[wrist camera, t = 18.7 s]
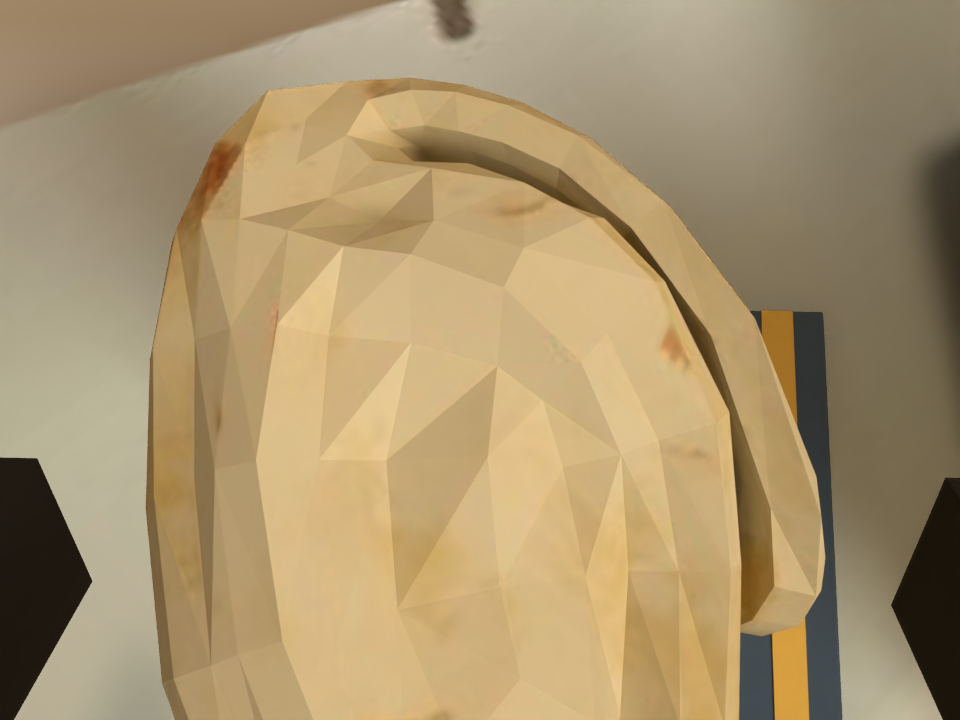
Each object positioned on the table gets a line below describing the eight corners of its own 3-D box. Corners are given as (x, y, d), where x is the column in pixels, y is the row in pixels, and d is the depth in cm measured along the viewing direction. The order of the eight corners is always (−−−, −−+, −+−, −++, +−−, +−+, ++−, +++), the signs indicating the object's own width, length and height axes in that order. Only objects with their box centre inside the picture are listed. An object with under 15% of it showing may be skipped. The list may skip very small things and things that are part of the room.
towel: (248, 741, 25) (242, 747, 24) (282, 306, 27) (277, 302, 27) (839, 771, 24) (846, 777, 23) (817, 315, 26) (824, 311, 26)
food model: (375, 386, 26) (-81, 28, 6) (572, 336, 26) (715, -177, 6) (443, 692, 24) (96, 1490, 5) (655, 640, 24) (1214, 1224, 5)
